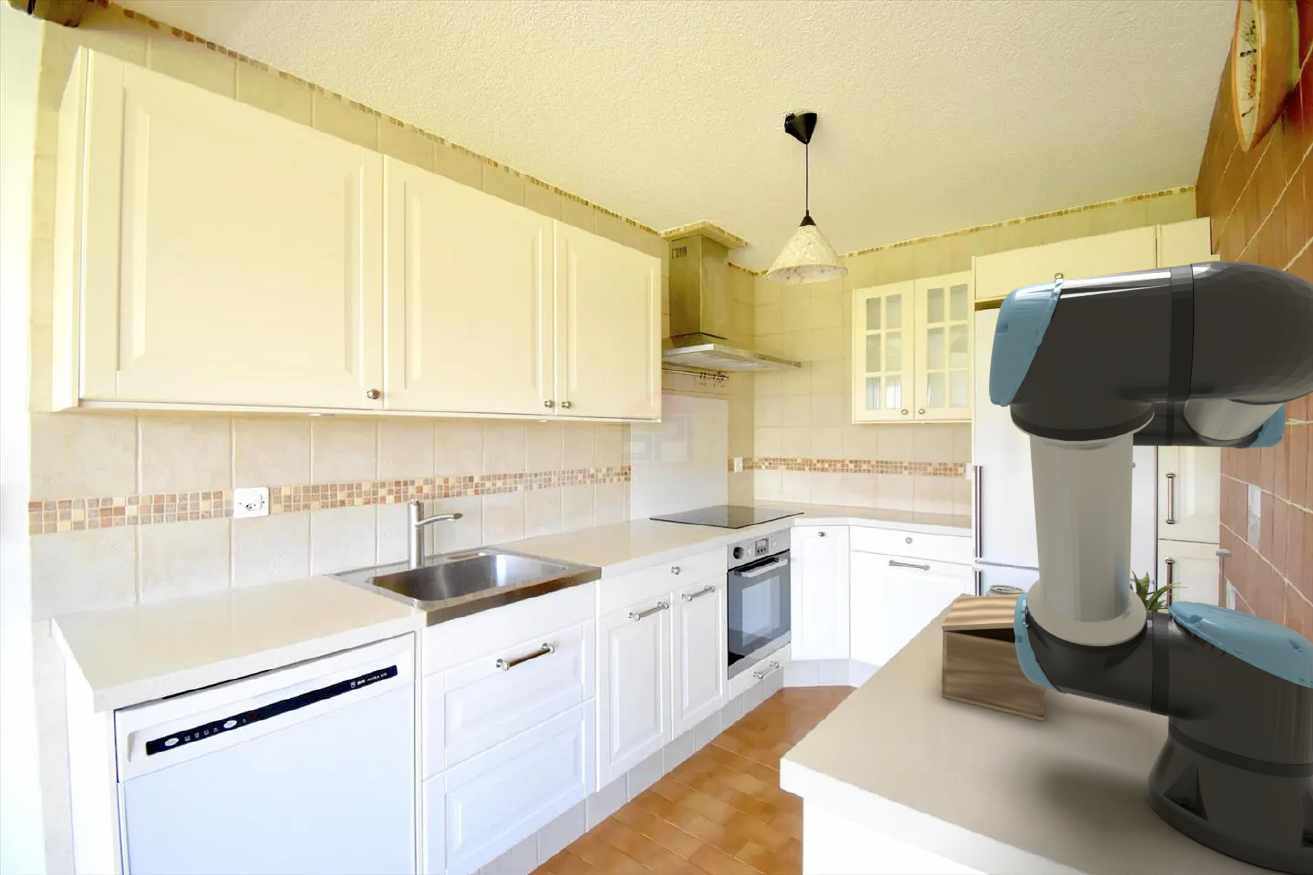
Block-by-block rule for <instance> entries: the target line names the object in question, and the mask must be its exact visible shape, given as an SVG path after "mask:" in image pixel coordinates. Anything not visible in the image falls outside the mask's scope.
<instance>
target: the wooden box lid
mask: <svg viewBox="0 0 1313 875" xmlns="http://www.w3.org/2000/svg"><path fill="white" fill-rule="evenodd" d="M1020 595H1021V594H1014V595H999V596H986V595H985V596H971V597H958V598H957V600H956V601H955V602H954V604H953V606H952V608H951V609H950V611H949V612H948V614H947V616H946V617H945V619H944V621H943V622H942V624H941V629H942V632H943V631H946V630H971V629H995V628H1014V613H1015V606H1016V602H1017V599H1018V597H1019V596H1020Z"/></svg>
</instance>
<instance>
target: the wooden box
mask: <svg viewBox="0 0 1313 875" xmlns="http://www.w3.org/2000/svg"><path fill="white" fill-rule="evenodd" d="M1015 641H1016V639H1015V633H1014V628H995V629H971V630H946V631H943V630H942V654H941V656H942V660H941V662H942V664H941V671H942V672H941V698H945V699H950V700H954V701H957V702H962V703H965V704H971V705H975V706H979V707H983V708H987V709H991V710H995V711H1000V712H1004V713H1008V714H1013V715H1018V716H1021V717H1024V718H1029V719H1033V720H1038V721H1042V722H1045V708H1046V707H1045V706H1046V705H1045V703H1046V702H1045V701H1046V687H1043V686H1039V685H1036V684H1034V683H1033V682H1031V681H1030V680H1029V679H1028V678H1027V677H1026V676H1025V675H1024V673H1023V672H1022V670H1021V667H1020V664H1019V661H1018V657H1017V653H1016V647H1015Z"/></svg>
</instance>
